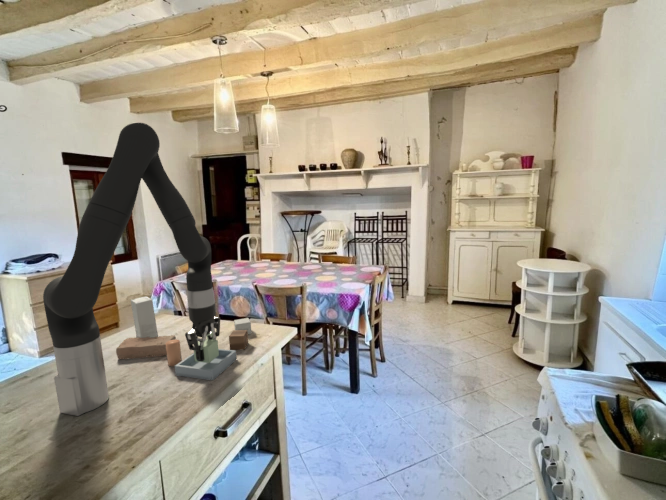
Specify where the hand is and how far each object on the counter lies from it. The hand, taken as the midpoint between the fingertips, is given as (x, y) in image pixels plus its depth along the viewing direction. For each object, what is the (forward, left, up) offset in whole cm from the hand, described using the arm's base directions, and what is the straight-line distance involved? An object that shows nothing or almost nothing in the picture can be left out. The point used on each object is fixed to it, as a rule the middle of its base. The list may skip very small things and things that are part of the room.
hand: (206, 355), depth 100 cm
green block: (0, 0, -1) cm, 1 cm away
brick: (+4, +27, -4) cm, 27 cm away
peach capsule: (0, +12, -4) cm, 12 cm away
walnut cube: (+15, -2, -4) cm, 15 cm away
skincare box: (+15, +38, -4) cm, 41 cm away
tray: (0, 0, -4) cm, 4 cm away
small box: (+26, +3, -4) cm, 26 cm away
